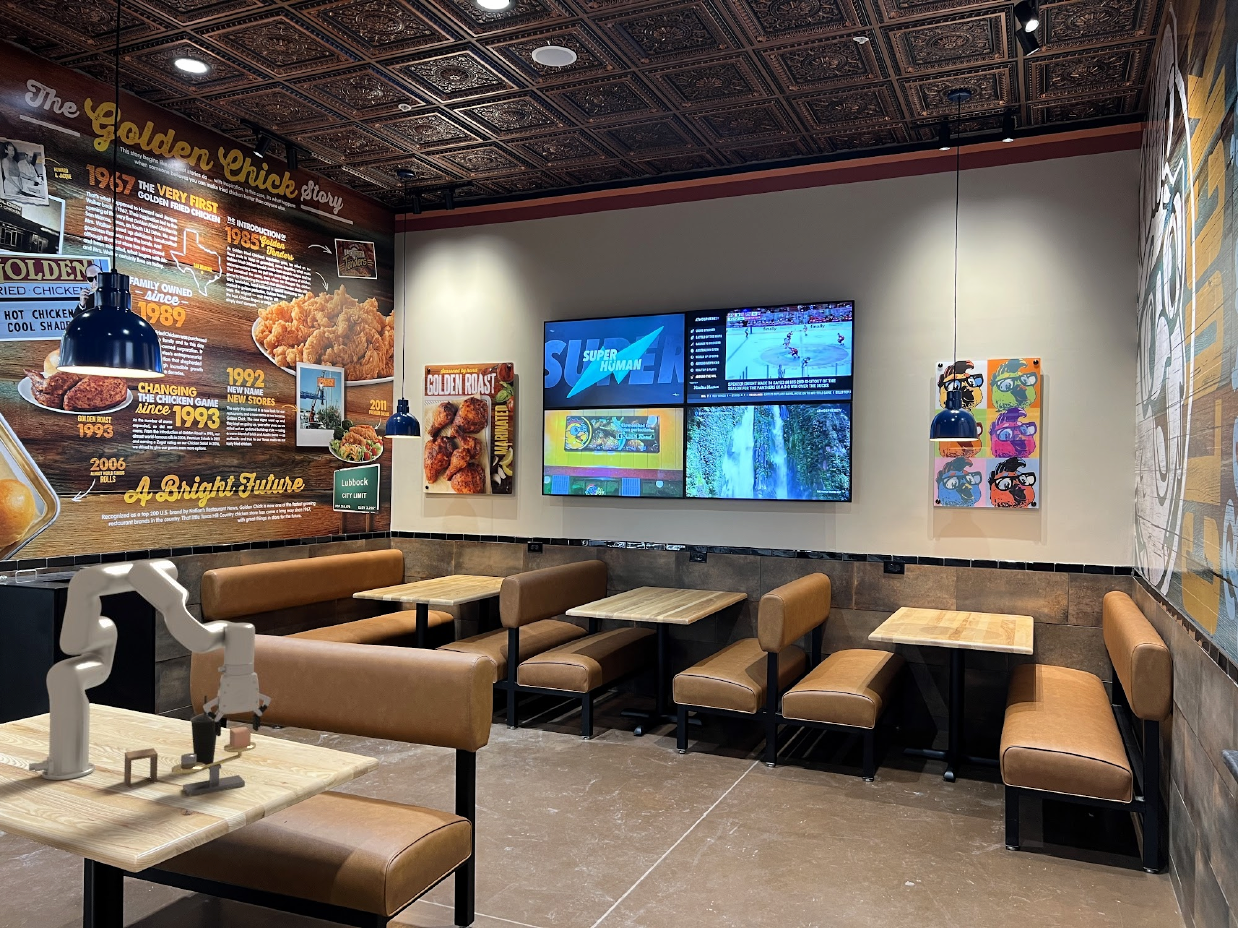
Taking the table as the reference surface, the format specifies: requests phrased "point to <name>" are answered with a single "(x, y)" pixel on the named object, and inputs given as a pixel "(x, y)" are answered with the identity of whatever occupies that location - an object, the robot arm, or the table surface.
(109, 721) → the table surface
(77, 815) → the table surface
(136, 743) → the table surface
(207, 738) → the drinking cup
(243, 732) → the block
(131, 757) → the arch
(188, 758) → the balance
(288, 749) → the table surface
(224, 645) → the robot arm
